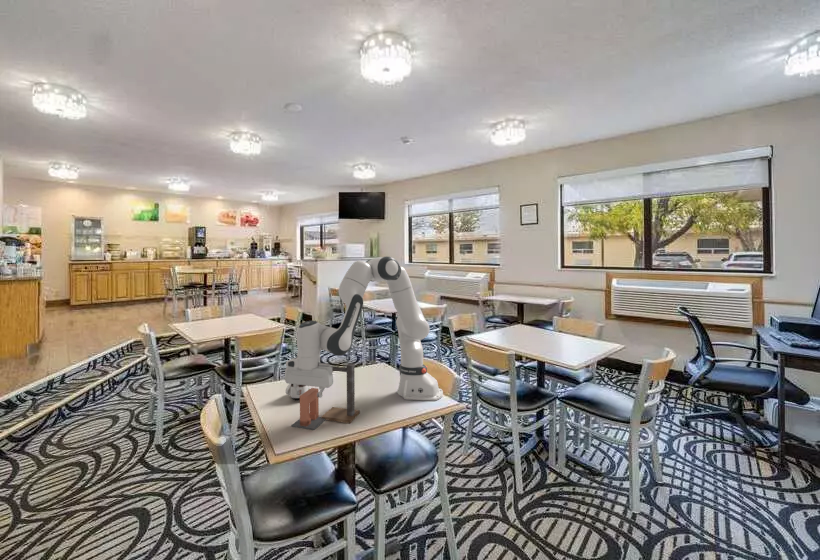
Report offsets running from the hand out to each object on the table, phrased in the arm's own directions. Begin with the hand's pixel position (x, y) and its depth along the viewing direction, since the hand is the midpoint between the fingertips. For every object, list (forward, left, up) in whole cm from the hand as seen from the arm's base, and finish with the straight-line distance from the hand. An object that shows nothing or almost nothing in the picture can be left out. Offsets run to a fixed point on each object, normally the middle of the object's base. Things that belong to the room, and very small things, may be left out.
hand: (309, 395), depth 145 cm
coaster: (0, 0, -11) cm, 11 cm away
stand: (-7, -9, -11) cm, 16 cm away
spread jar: (+20, -22, -11) cm, 32 cm away
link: (0, 0, -10) cm, 10 cm away
